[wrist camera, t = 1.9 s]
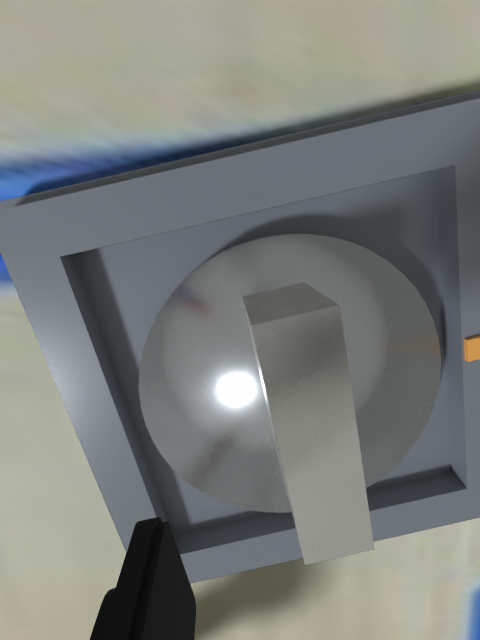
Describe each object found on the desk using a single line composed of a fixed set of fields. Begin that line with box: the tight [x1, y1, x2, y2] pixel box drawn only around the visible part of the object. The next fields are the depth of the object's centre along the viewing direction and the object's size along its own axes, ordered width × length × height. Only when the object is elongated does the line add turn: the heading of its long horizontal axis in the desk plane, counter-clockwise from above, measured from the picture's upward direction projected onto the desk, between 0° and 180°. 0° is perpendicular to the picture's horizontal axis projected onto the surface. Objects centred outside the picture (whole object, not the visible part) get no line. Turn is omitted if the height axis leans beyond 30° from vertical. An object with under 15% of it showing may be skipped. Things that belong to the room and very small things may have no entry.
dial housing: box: [0, 90, 480, 584], centre depth 15 cm, size 20×20×3 cm
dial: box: [139, 233, 441, 565], centre depth 13 cm, size 13×13×5 cm
